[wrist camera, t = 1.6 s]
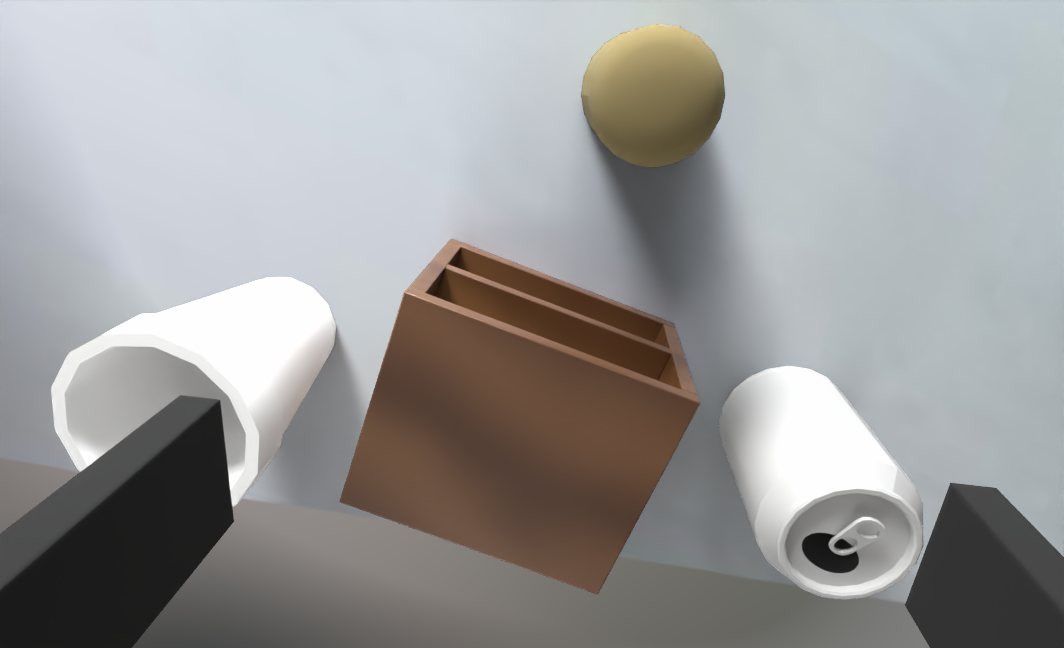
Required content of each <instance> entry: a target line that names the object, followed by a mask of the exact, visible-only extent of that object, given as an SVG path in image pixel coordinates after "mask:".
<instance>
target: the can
mask: <svg viewBox="0 0 1064 648" xmlns="http://www.w3.org/2000/svg"><path fill="white" fill-rule="evenodd" d="M719 429H720V437H721V441H722V444H723V447H724V450H725V453H726V456H727V459H728V461H729V464H730V467H731V470H732V473H733V476H734V479H735V481H736V484H737V487H738V490H739V493H740V496H741V499H742V501H743V504H744V507H745V510H746V513H747V516H748V519H749V522H750V524H751V527H752V530H753V533H754V536H755V539H756V542H757V544H758V546H759V547H760V549H761V551H762V553H763V555H764V557H765V558H766V560H767V561H768V562H769V563H770V564H771V565H772V566H774V567H775V568H776V569H777V570H778V571H779V572H780V573H782V574H783V575H785V576H787V577H788V578H789V579H790V580H791V581H793V582H794V583H795V584H796V585H797V586H798V587H800V588H801V589H803V590H805V591H808V592H810V593H812V594H814V595H817V596H819V597H825V598H832V599H839V600H843V599H855V598H864V597H867V596H870V595H873V594H876V593H879V592H882V591H885V590H886V589H888V588H889V587H891V586H892V585H894V584H896V583H897V582H899V581H900V580H902V579H903V578H904V577H905V576H906V575H907V573H908V572H909V571H910V570H911V569H912V568H913V567H914V566H915V564H916V563H917V560H918V558H919V556H920V553H921V551H922V548H923V503H922V501H921V499H920V496H919V494H918V492H917V490H916V488H915V485H914V484H913V482H912V481H911V480H910V478H909V477H908V476H907V475H906V473H905V472H904V471H903V470H902V468H901V467H900V466H899V464H898V463H897V462H896V461H895V459H894V458H893V457H892V456H891V454H890V453H889V452H888V450H887V449H886V448H885V447H884V445H883V444H882V443H881V442H880V440H879V439H878V438H877V436H876V435H875V434H874V433H873V431H872V430H871V429H870V427H869V426H868V425H867V424H866V422H865V421H864V420H863V419H862V417H861V416H860V415H859V413H858V412H857V411H856V410H855V408H854V407H853V406H852V405H851V403H850V402H849V401H848V399H847V398H846V397H845V396H844V394H843V393H842V392H841V390H840V389H839V388H838V387H837V386H836V385H835V384H834V383H832V382H831V381H830V380H829V379H828V378H827V377H826V376H824V375H822V374H819V373H817V372H815V371H813V370H811V369H808V368H801V367H793V366H784V367H777V368H770V369H766V370H764V371H762V372H759V373H757V374H755V375H753V376H750V377H748V378H747V379H746V380H745V381H743V382H742V383H741V384H740V385H739V386H737V387H736V388H735V389H734V390H733V391H732V392H731V394H730V396H729V397H728V399H727V400H726V402H725V403H724V405H723V407H722V411H721V416H720V420H719Z"/></svg>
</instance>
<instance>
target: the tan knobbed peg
mask: <svg viewBox="0 0 1064 648" xmlns="http://www.w3.org/2000/svg"><path fill="white" fill-rule="evenodd" d="M581 97H582V103H583V110H584V114H585V116H586V118H587V120H588V122H589V124H590V126H591V128H592V130H593V131H594V132H595V133H596V134H597V135H598V137H599V139H600V141H601V142H602V143H603V144H604V145H605V146H606V147H607V148H608V149H609V150H610V151H611V152H612V153H613V154H614V155H615V156H617V157H619V158H621V159H623V160H625V161H627V162H629V163H631V164H633V165H638V166H646V167H653V168H654V167H659V166H665V165H670V164H675V163H677V162H679V161H681V160H682V159H684V158H686V157H688V156H690V155H692V154H694V153H695V152H696V151H697V150H698V149H699V148H700V147H701V146H702V145H703V144H704V143H705V142H706V141H707V140H708V139H709V138H710V136H711V134H712V132H713V130H714V129H715V127H716V125H717V123H718V121H719V120H720V117H721V113H722V108H723V103H724V99H725V89H724V78H723V72H722V70H721V67H720V65H719V63H718V61H717V58H716V56H715V54H714V52H713V51H712V50H711V49H710V48H709V47H708V46H707V45H706V44H705V42H704V41H703V40H702V39H701V38H700V37H699V36H697V35H695V34H693V33H691V32H689V31H687V30H685V29H683V28H681V27H677V26H669V25H661V24H656V25H651V26H647V27H642V28H638V29H635V30H633V31H629V32H625V33H621V34H620V35H618V36H616V37H614V38H613V39H611V40H609V41H608V42H606V43H605V44H604V45H603V46H602V47H601V48H600V49H599V50H598V52H597V53H596V54H595V55H594V56H593V57H592V59H591V61H590V63H589V65H588V68H587V70H586V72H585V74H584V78H583V85H582V92H581Z"/></svg>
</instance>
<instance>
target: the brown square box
mask: <svg viewBox="0 0 1064 648" xmlns="http://www.w3.org/2000/svg"><path fill="white" fill-rule="evenodd" d="M699 405H700V401H699V398H698V396H697V392H696V389H695V386H694V383H693V380H692V377H691V374H690V371H689V368H688V365H687V362H686V359H685V356H684V353H683V350H682V347H681V344H680V341H679V337H678V334H677V331H676V329H675V325H674V323H671V322H668V321H666V320H663V319H661V318H658V317H655V316H653V315H650V314H648V313H645V312H642V311H640V310H637V309H634V308H632V307H629V306H627V305H624V304H621V303H619V302H616V301H613V300H611V299H608V298H606V297H603V296H600V295H598V294H595V293H593V292H590V291H587V290H585V289H582V288H579V287H577V286H574V285H572V284H569V283H566V282H564V281H561V280H558V279H556V278H553V277H551V276H548V275H545V274H543V273H540V272H538V271H535V270H532V269H530V268H527V267H524V266H522V265H519V264H517V263H514V262H511V261H509V260H506V259H503V258H501V257H498V256H496V255H493V254H490V253H488V252H485V251H483V250H480V249H477V248H475V247H472V246H469V245H467V244H464V243H462V242H459V241H456V240H454V239H450V240H449V242H448V243H447V244H446V245H445V246H444V247H443V248H442V249H441V251H440V252H439V253H438V254H437V255H436V256H435V258H434V259H433V260H432V261H431V262H430V263H429V264H428V266H427V267H426V268H425V269H424V270H423V271H422V272H421V274H420V275H419V276H418V277H417V278H416V279H415V280H414V282H413V283H412V284H411V285H410V286H409V288H408V289H407V290H406V291H405V292H404V294H403V298H402V301H401V304H400V307H399V310H398V314H397V317H396V320H395V323H394V327H393V330H392V333H391V336H390V340H389V343H388V346H387V349H386V353H385V356H384V359H383V362H382V365H381V369H380V372H379V375H378V378H377V382H376V385H375V388H374V391H373V395H372V398H371V401H370V404H369V408H368V411H367V414H366V417H365V420H364V424H363V427H362V430H361V433H360V437H359V440H358V443H357V446H356V450H355V453H354V456H353V459H352V463H351V466H350V469H349V472H348V476H347V479H346V482H345V485H344V488H343V492H342V495H341V498H340V502H341V503H343V504H346V505H349V506H352V507H355V508H357V509H360V510H363V511H366V512H369V513H371V514H374V515H377V516H380V517H382V518H385V519H388V520H391V521H394V522H396V523H399V524H402V525H405V526H408V527H410V528H413V529H416V530H419V531H422V532H424V533H427V534H430V535H433V536H436V537H438V538H441V539H444V540H447V541H450V542H452V543H455V544H458V545H461V546H463V547H466V548H469V549H472V550H475V551H478V552H481V553H483V554H486V555H489V556H492V557H494V558H497V559H500V560H503V561H506V562H508V563H511V564H514V565H517V566H519V567H522V568H525V569H528V570H530V571H533V572H536V573H539V574H542V575H545V576H547V577H550V578H553V579H556V580H558V581H561V582H564V583H567V584H570V585H573V586H575V587H578V588H581V589H584V590H586V591H589V592H592V593H595V594H598V593H599V591H600V589H601V587H602V585H603V584H604V582H605V580H606V578H607V576H608V574H609V572H610V571H611V569H612V567H613V565H614V563H615V561H616V559H617V558H618V556H619V554H620V552H621V550H622V548H623V546H624V545H625V543H626V541H627V539H628V537H629V535H630V533H631V531H632V530H633V528H634V526H635V524H636V522H637V520H638V518H639V517H640V515H641V513H642V511H643V509H644V507H645V505H646V504H647V502H648V500H649V498H650V496H651V494H652V492H653V490H654V489H655V487H656V485H657V483H658V481H659V479H660V477H661V476H662V474H663V472H664V470H665V468H666V466H667V464H668V463H669V461H670V459H671V457H672V455H673V453H674V451H675V450H676V448H677V446H678V444H679V442H680V440H681V438H682V436H683V435H684V433H685V431H686V429H687V427H688V425H689V423H690V422H691V420H692V418H693V416H694V414H695V412H696V410H697V409H698V407H699Z"/></svg>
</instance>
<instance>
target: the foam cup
mask: <svg viewBox="0 0 1064 648" xmlns="http://www.w3.org/2000/svg"><path fill="white" fill-rule="evenodd" d="M335 332H336V324H335V321H334V318H333V316H332V313H331V311H330V308H329V305H328V304H327V303H326V302H325V301H324V300H323V298H322V297H321V296H320V295H319V294H318V293H317V292H316V291H315V290H314V289H313V288H312V287H310V286H308V285H306V284H303V283H301V282H299V281H297V280H294V279H292V278H290V277H275V278H266V279H261V280H257V281H254V282H251V283H248V284H245V285H242V286H239V287H236V288H233V289H230V290H227V291H224V292H221V293H218V294H215V295H212V296H209V297H206V298H203V299H200V300H196V301H193V302H190V303H187V304H184V305H181V306H178V307H175V308H172V309H169V310H166V311H163V312H160V313H157V314H140V315H138V316H136V317H135V318H133V319H131V320H129V321H127V322H125V323H123V324H121V325H119V326H117V327H116V328H114V329H112V330H110V331H108V332H106V333H104V334H102V335H100V336H99V337H97V338H95V339H93V340H91V341H90V342H88V343H86V344H84V345H82V346H80V347H79V348H77V349H75V350H73V351H71V352H70V353H68V355H67V357H66V359H65V361H64V363H63V365H62V367H61V369H60V371H59V373H58V375H57V377H56V379H55V381H54V383H53V385H52V387H51V394H52V405H53V416H54V427H55V431H56V433H57V434H58V436H59V438H60V440H61V441H62V443H63V445H64V447H65V448H66V450H67V452H68V454H69V455H70V457H71V459H72V461H73V462H74V464H75V466H76V468H77V469H78V470H79V471H80V472H81V471H83V470H84V469H85V468H86V467H88V466H89V465H90V464H92V463H93V462H94V461H96V460H97V459H98V458H99V457H101V456H102V455H103V454H105V453H106V452H107V451H108V450H110V449H111V448H112V447H114V446H115V445H116V444H118V443H119V442H120V441H121V440H123V439H124V438H125V437H127V436H128V435H129V434H131V433H132V432H133V431H134V430H136V429H137V428H138V427H140V426H141V425H142V424H144V423H145V422H146V421H147V420H149V419H150V418H151V417H153V416H154V415H155V414H157V413H158V412H159V411H160V410H162V409H163V408H164V407H166V406H167V405H168V404H170V403H171V402H172V401H173V400H175V399H176V398H177V397H179V396H180V395H183V396H192V397H201V398H210V399H218V400H220V402H221V411H222V420H223V429H224V438H225V447H226V456H227V465H228V474H229V483H230V492H231V501H232V506H234V505H236V504H237V503H238V502H239V501H240V500H241V498H242V497H243V496H244V495H245V494H246V493H247V491H248V490H249V489H250V488H251V487H252V485H253V484H254V483H255V482H256V481H257V479H258V478H259V477H260V476H261V474H262V473H263V472H264V470H265V469H266V467H267V466H268V464H269V463H270V462H271V460H272V459H273V457H274V456H275V455H276V453H277V452H278V450H279V449H280V447H281V444H282V436H283V434H284V432H285V431H286V429H287V427H288V425H289V424H290V422H291V420H292V419H293V417H294V415H295V413H296V412H297V410H298V408H299V406H300V405H301V403H302V401H303V400H304V398H305V396H306V394H307V393H308V391H309V389H310V387H311V386H312V384H313V382H314V381H315V379H316V377H317V375H318V374H319V372H320V370H321V368H322V367H323V365H324V363H325V361H326V360H327V358H328V356H329V355H330V353H331V351H332V348H333V347H334V344H335Z"/></svg>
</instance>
